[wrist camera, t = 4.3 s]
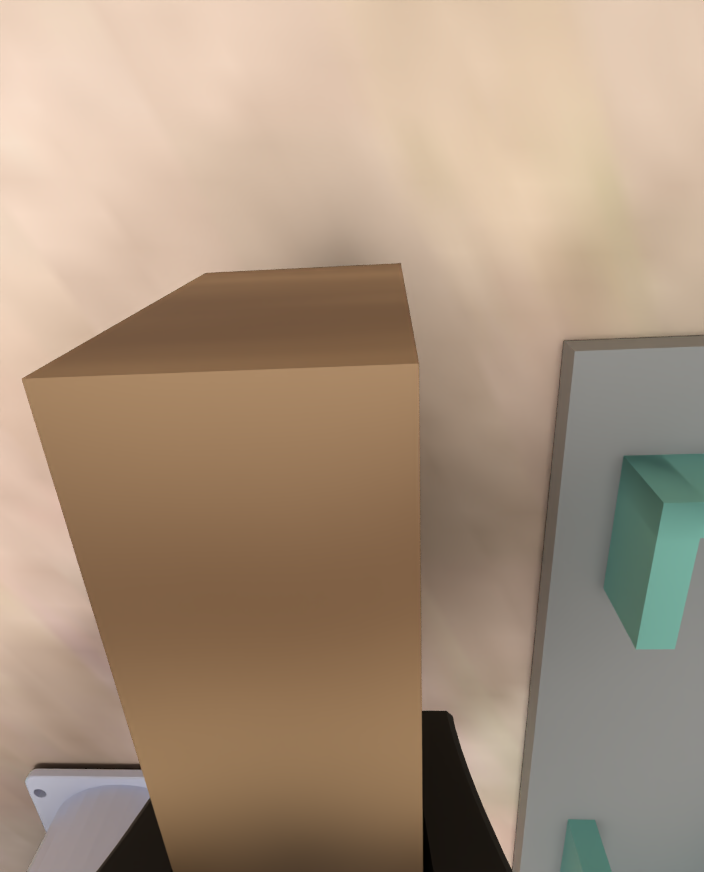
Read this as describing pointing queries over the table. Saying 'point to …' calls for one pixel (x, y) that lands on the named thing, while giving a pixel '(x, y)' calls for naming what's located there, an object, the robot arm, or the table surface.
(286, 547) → the slat
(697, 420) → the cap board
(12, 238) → the table surface
